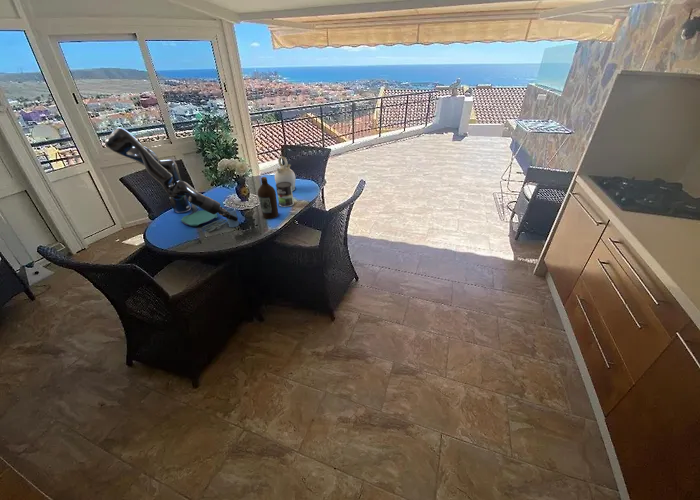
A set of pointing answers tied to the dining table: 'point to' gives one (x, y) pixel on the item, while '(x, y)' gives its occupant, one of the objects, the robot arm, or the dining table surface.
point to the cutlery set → (201, 219)
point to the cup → (231, 222)
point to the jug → (285, 173)
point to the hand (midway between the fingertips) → (235, 217)
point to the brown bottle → (267, 200)
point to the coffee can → (285, 194)
